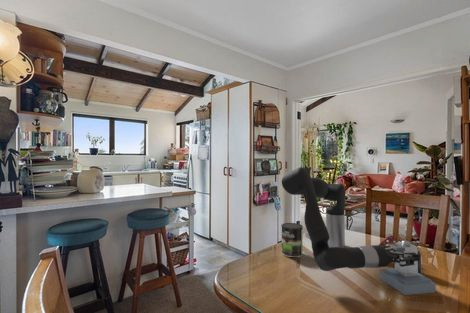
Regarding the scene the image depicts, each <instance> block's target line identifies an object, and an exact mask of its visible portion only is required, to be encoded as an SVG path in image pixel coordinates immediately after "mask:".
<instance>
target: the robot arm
mask: <svg viewBox="0 0 470 313" xmlns="http://www.w3.org/2000/svg"><path fill="white" fill-rule="evenodd" d="M281 186H282V188H283V189H284V191H285V192H287V193H288V194H290V195H292V196H299V195H300V196H301V195H302V196H305V198H306V199H305V200H306V201H305V210H304V218H303V219H304V226H305V228H306V232H307V234H308V237H309V239H310V242H311V248H312V255H313V260H314V262H315V264H316V265H317V267H318V268H319V269H320V270H321V271H323V272H330V271H333V270H337V269H345V268H347V269H374V268H375V269H377V268H386V267H388V265H389V264H390V263H392V264H395V263H399V266H401V267H404V266H410V265H414V261H420V260H421V261H422V256H421V257H420V255H419V254H411V255H408V254H403V253H401V252H395V247H390V246H389V245H388V244H387V245H384V246H381V245H379V244H376V245H373V244H372V245H363V246H360V245H359V246H355V247H346V246H345V245H346V242H345V240H346V239H345V238H346V237H345V236H346V232H345V230H346V228H345V226H346V225H345V224H346V220H345V217H346V216H345V209H346V187H345V185H344V184H341V183H327V182H326V180H324V179H322V178H318V177H311V175H310V173H309V172H308V170H306V169H305V168H304V167H302V166H300V167H297V168H296V169H293V170H292V171H290V172H288V173H286V174H285V175H283V177H282V178H281ZM321 198H322V199H324V200H326V201H331V202H336V204H335V205H331V206H328V207H326V209H325V221H324V218H323V216H322V213H321V210H320V205H319V202H318V201H319V200H318V199H321ZM399 255H401V258H400V256H399ZM404 257H405V258H404Z"/></svg>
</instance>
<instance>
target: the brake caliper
mask: <svg viewBox="0 0 470 313" xmlns="http://www.w3.org/2000/svg"><path fill="white" fill-rule="evenodd" d="M395 243H401V241H400V240H397V238H396V237H395V236H393V235H391V234H390V235H389V236H387V237H386V238H385V239H384V240H382V241H381V242H380V243H379V244H378V245H381V246H388V245H389V246H390V247H395Z"/></svg>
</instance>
